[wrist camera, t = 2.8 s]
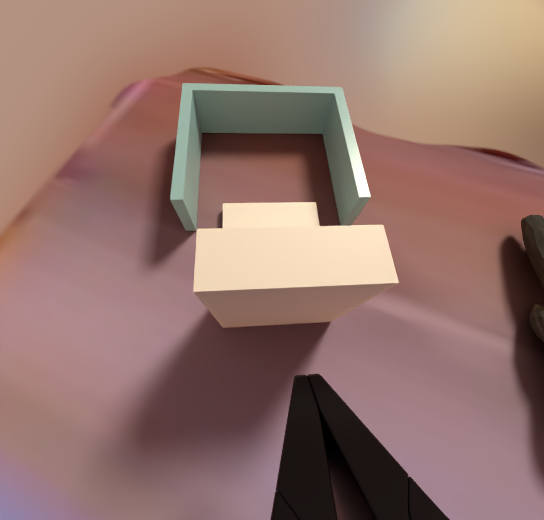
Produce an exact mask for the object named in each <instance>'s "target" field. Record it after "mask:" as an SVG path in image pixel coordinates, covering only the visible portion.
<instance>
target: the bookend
mask: <svg viewBox="0 0 544 520" xmlns="http://www.w3.org/2000/svg"><path fill="white" fill-rule="evenodd" d="M398 283H399V282H398V278H397V274H396V271H395V267H394V263H393V259H392V256H391V252H390V248H389V244H388V241H387V237H386V233H385V230H384V226H383V225H350V226H320V225H319V219H318V213H317V206H316V202H294V203H223V228H216V229H197V238H196V256H195V273H194V291H193V292H194V293H195V294H196V295H197V297H198V298H199V299H200V300H201V302H202V303H203V304H204V305H205V307H206V308H207V309H208V310H209V311H210V313H211V314H212V315H213V316H214V318H215V319H216V320H217V321H218V323H219V324H220V325H221V326H222V327H223V328H228V327H246V326H264V325H282V324H300V323H318V322H331V321H333V320H335V319H337V318H338V317H340V316H342V315H344V314H345V313H347V312H349V311H351V310H352V309H354V308H356V307H358V306H359V305H361V304H363V303H365V302H366V301H368V300H370V299H372V298H373V297H375V296H377V295H379V294H380V293H382V292H384V291H385V290H387V289H389V288H391V287H392V286H394V285H396V284H398Z"/></svg>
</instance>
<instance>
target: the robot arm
mask: <svg viewBox="0 0 544 520" xmlns="http://www.w3.org/2000/svg"><path fill="white" fill-rule="evenodd" d="M271 520H449V519H448V518H447V517H446V516H445V514H444V513H443V512H442V511H441V510H440V509H439V508H438V507H437V506H436V505H435V504H434V502H433V501H432V500H431V499H430V498H429V497H428V496H427V495H426V494H425V493H424V492H423V490H422V489H421V488H420V487H419V486H418V485H417V484H416V482H415V481H414V480H413V479H412V478H411V477H408V474H407V472H406V471H405V470H404V469H403V468H402V467H401V466H400V464H399V463H398V462H397V461H396V460H395V459H394V458H393V457H392V455H391V454H390V453H389V452H388V451H387V450H386V449H385V447H384V446H383V445H382V444H381V443H380V442H379V441H378V440H377V438H376V437H375V436H374V435H373V434H372V433H371V432H370V431H369V429H368V428H367V427H366V426H365V425H364V424H363V423H362V421H361V420H360V419H359V418H358V417H357V416H356V415H355V414H354V412H353V411H352V410H351V409H350V408H349V407H348V406H347V404H346V403H345V402H344V401H343V400H342V399H341V398H340V397H339V395H338V394H337V393H336V392H335V391H334V390H333V389H332V387H331V386H330V385H329V384H328V383H327V382H326V381H325V380H324V378H323V377H322V376H321V375H320V374H309V375H307V376H306V375H296V376H295V377H294V381H293V388H292V394H291V400H290V406H289V412H288V418H287V424H286V430H285V437H284V443H283V449H282V455H281V461H280V467H279V473H278V479H277V486H276V492H275V497H274V503H273V509H272V515H271Z"/></svg>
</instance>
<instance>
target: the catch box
mask: <svg viewBox="0 0 544 520" xmlns="http://www.w3.org/2000/svg"><path fill="white" fill-rule="evenodd" d="M202 133H279V134H323V139H324V144H325V149H326V154H327V160H328V165H329V170H330V175H331V180H332V185H333V191H334V196H335V201H336V206H337V211H338V216H339V222H340V226H350V225H352V223H353V222H354V220H355V219H356V218H357V216H358V215H359V213H360V212H361V210H362V209H363V207H364V206H365V204H366V203H367V202H368V200H369V199H370V197H371V196H370V192H369V189H368V185H367V181H366V177H365V173H364V169H363V165H362V162H361V158H360V154H359V150H358V146H357V142H356V138H355V135H354V131H353V127H352V123H351V119H350V115H349V111H348V108H347V104H346V100H345V96H344V93H343V88H342V87H315V86H275V85H235V84H195V83H183V86H182V95H181V104H180V113H179V122H178V131H177V140H176V150H175V159H174V168H173V177H172V186H171V195H170V201H171V203H172V205H173V207H174V209H175V210H176V212H177V214H178V216H179V218H180V220H181V222H182V224H183V226H184V228H185V230H186V231H196V226H197V209H198V192H199V175H200V158H201V141H202Z"/></svg>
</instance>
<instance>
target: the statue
mask: <svg viewBox="0 0 544 520" xmlns="http://www.w3.org/2000/svg"><path fill="white" fill-rule="evenodd" d="M521 228H522V235H523V241H524V245H525V248H526V251H527V254H528V257H529V260H530V262H531V264H532V265H533V267H534V270H535V272H536V274H537V276H538V278H539V279H540V281H541V283H542V286H543V288H544V218H543V216H540V215H529V216H527V217H525V218H523V219H522V220H521ZM530 325H531V327H532V329H533V331H534V332H535V334H536V335H537V336H538V337H539V338H540V339H541V340H542V341H543V342H544V306H542V305H536V304H534V306H533V308H532V311H531V313H530Z"/></svg>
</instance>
